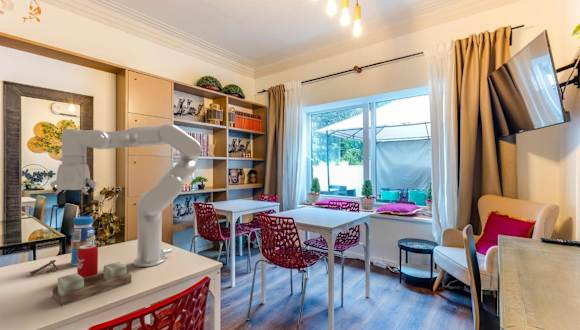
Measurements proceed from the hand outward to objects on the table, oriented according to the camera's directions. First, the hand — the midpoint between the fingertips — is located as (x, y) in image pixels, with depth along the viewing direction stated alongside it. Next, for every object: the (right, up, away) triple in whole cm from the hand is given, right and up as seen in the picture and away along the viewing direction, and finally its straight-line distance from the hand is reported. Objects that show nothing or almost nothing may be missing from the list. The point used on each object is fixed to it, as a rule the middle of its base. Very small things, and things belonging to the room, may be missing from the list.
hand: (73, 204), depth 103 cm
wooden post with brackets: (-13, -28, +1) cm, 31 cm away
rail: (+16, -28, -11) cm, 34 cm away
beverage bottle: (-6, -28, +12) cm, 31 cm away
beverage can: (+7, -28, -2) cm, 29 cm away
